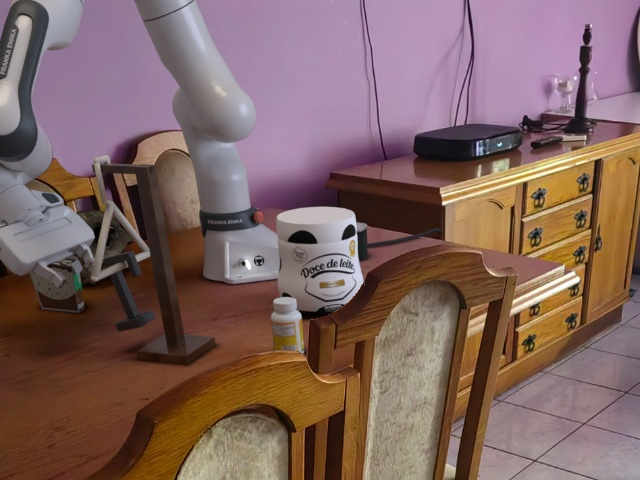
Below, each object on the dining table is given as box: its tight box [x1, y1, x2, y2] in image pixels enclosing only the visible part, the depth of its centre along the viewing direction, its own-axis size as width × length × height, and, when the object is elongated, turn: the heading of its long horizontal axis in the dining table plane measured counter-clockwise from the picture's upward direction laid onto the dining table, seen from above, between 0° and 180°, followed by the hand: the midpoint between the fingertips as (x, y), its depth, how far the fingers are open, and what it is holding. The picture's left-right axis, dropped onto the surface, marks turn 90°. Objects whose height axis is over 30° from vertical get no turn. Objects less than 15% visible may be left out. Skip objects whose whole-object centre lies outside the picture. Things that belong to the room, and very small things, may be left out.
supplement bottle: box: [270, 297, 305, 354], centre depth 147 cm, size 5×5×10 cm
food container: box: [29, 255, 85, 314], centre depth 172 cm, size 12×6×10 cm, turn 71°
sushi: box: [356, 221, 369, 262], centre depth 201 cm, size 8×8×8 cm
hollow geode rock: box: [73, 209, 134, 286], centre depth 193 cm, size 28×13×15 cm
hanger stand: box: [91, 154, 217, 366], centre depth 143 cm, size 14×17×32 cm
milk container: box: [275, 206, 365, 316], centre depth 166 cm, size 17×17×18 cm
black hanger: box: [103, 250, 156, 333], centre depth 148 cm, size 7×5×12 cm
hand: (79, 276), depth 149 cm, fingers open, 8 cm apart
